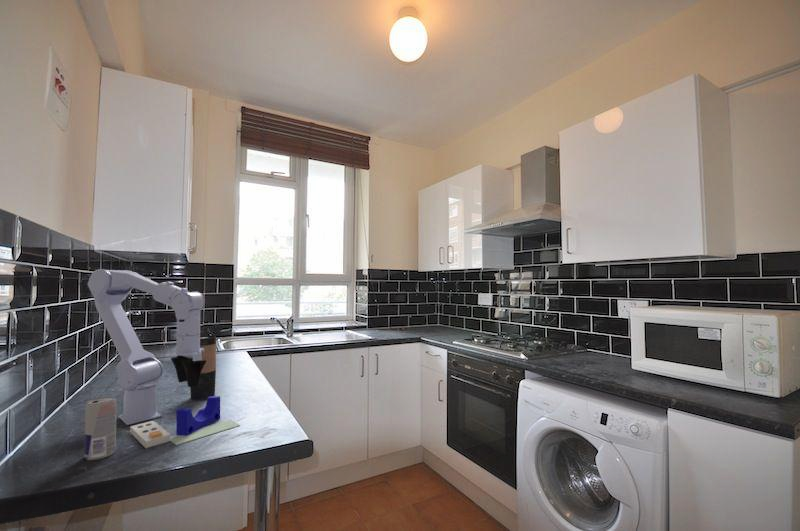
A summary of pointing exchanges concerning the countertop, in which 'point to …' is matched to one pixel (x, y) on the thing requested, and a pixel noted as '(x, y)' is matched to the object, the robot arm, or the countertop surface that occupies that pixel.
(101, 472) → the countertop surface
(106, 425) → the energy drink
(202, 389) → the travel mug
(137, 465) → the countertop surface
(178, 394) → the countertop surface
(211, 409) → the cable clip
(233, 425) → the mat
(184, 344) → the robot arm
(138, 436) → the power strip
